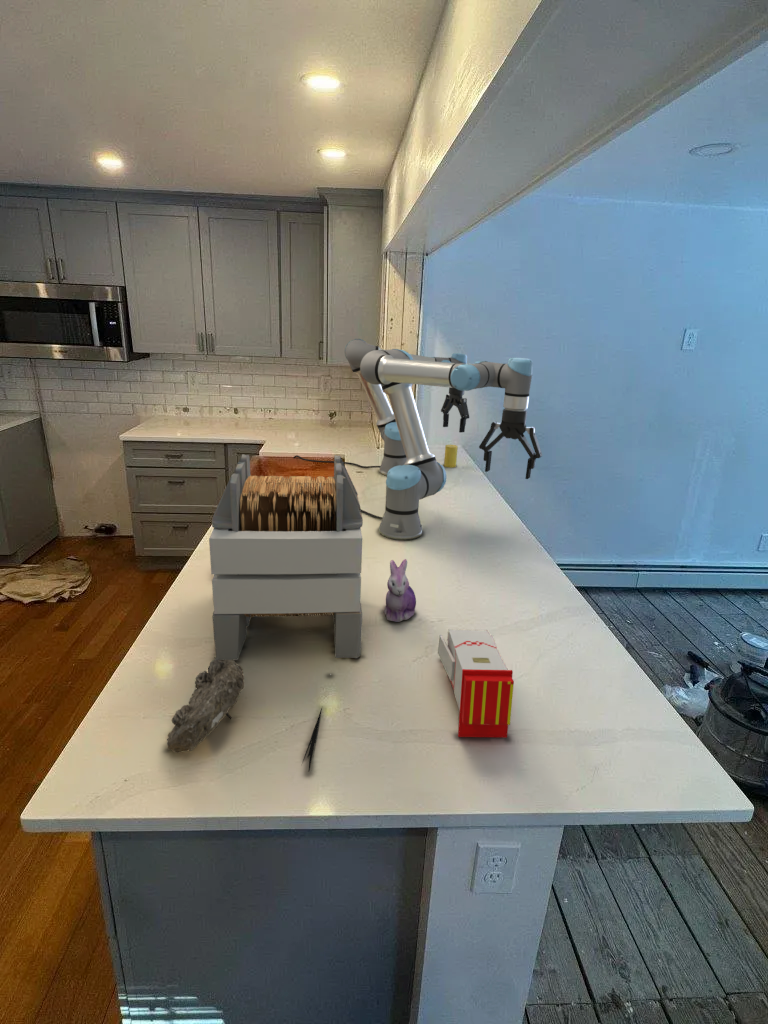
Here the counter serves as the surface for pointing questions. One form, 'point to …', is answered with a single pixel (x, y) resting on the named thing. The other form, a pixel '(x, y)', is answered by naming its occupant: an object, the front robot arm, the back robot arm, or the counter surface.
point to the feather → (313, 740)
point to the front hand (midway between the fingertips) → (507, 474)
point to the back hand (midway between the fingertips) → (453, 429)
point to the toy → (478, 682)
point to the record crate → (286, 555)
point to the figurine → (399, 594)
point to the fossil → (206, 705)
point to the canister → (450, 456)
